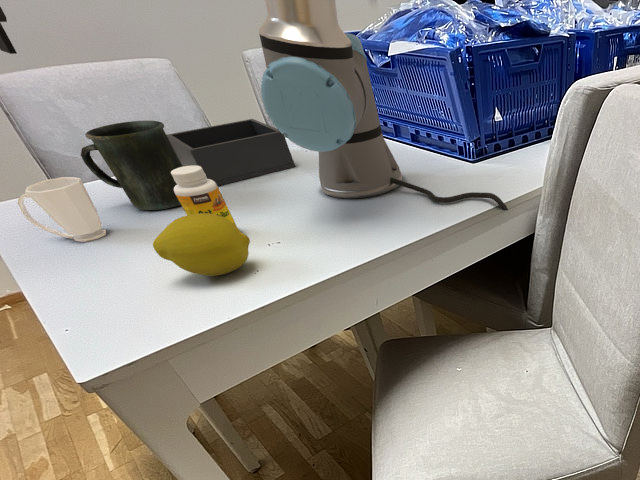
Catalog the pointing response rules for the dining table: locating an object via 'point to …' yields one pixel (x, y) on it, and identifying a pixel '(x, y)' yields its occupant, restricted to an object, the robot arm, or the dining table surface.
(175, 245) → the lemon
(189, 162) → the bin
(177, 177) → the supplement bottle
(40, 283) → the dining table surface
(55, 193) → the cup
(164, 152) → the mug
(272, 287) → the dining table surface
